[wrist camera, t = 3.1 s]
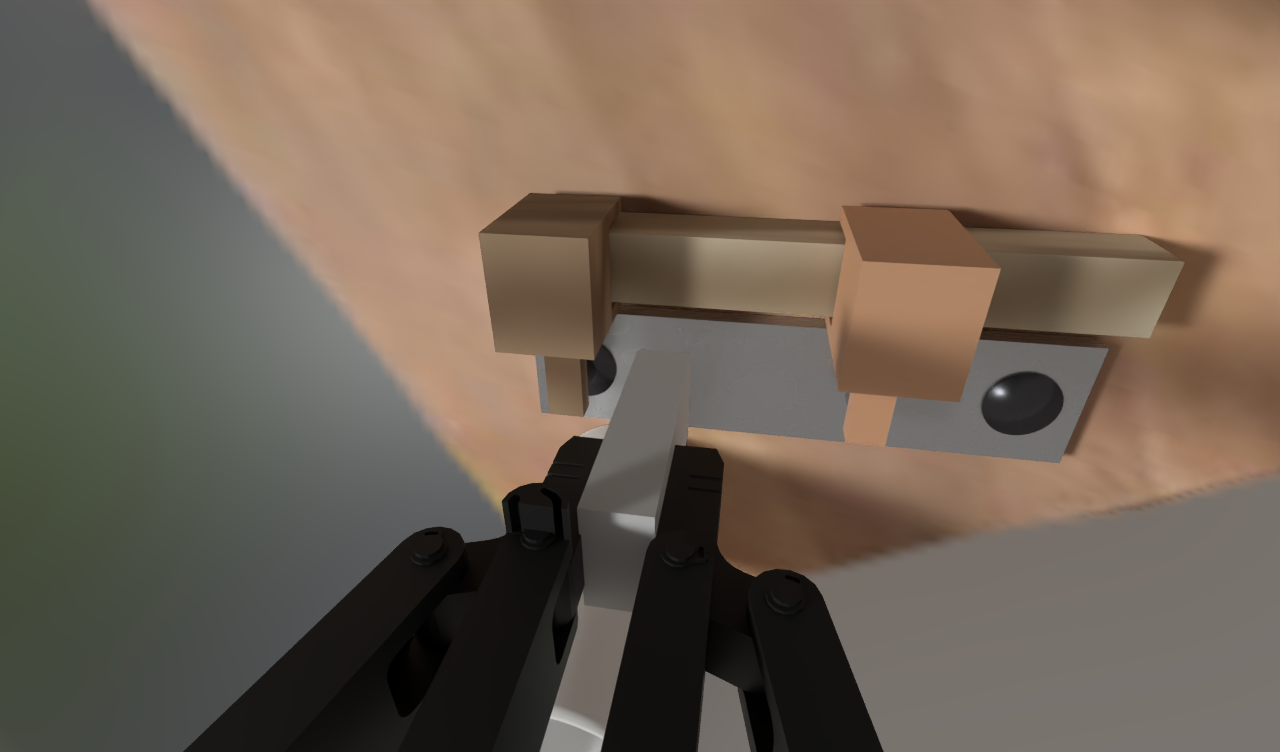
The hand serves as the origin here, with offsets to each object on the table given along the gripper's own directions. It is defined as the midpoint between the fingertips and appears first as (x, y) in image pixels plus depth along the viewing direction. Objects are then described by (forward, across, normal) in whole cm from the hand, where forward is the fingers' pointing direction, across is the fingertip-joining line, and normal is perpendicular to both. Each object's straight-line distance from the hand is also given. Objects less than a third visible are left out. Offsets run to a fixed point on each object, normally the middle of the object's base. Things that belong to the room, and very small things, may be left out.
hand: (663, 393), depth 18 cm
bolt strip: (+12, +5, -6) cm, 14 cm away
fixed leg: (+11, -5, -2) cm, 12 cm away
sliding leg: (+11, +8, -2) cm, 13 cm away
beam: (+12, +5, 0) cm, 13 cm away
